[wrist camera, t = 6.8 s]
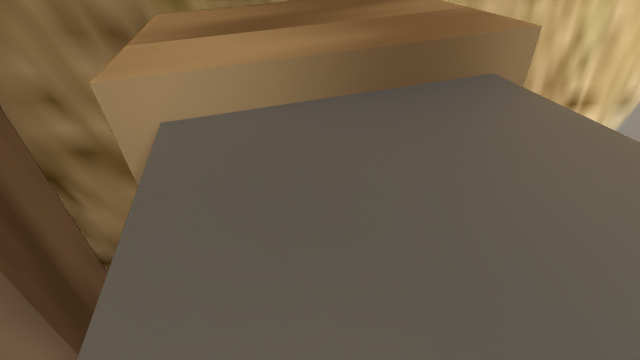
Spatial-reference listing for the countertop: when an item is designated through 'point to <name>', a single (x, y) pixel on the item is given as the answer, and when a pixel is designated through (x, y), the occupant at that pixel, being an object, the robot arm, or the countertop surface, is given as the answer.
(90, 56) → the countertop surface
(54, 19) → the countertop surface
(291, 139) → the block
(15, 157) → the block
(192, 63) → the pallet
